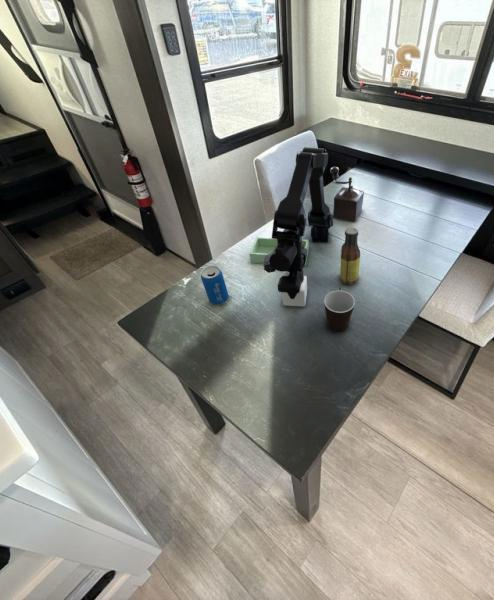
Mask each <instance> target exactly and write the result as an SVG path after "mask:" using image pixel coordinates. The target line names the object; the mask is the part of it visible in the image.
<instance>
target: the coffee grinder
mask: <svg viewBox="0 0 494 600" xmlns="http://www.w3.org/2000/svg"><path fill="white" fill-rule="evenodd" d="M329 172H330V174H331V175H332V179H333V181H334V183H335V184H338V185H348V187H340V190H339V191H338V192H337V193H336V195H335V196H334V198H333V215H332V216H333V218H334V219H340V220H343V221H348V222H356V221H357V220H358V219H359V217H360V215H361V214H362V212H363V205H364V204H363V203H364V197H365V190H361V189H357V188H354V185H352V183H353V181H352V180H353V178H352V177H351V176H350V177H348V181H337V179H339V178H340V176H339V172H340V168H339V167H338V166H332V167H331V168H330V170H329Z"/></svg>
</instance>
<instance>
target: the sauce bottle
mask: <svg viewBox="0 0 494 600" xmlns="http://www.w3.org/2000/svg"><path fill="white" fill-rule="evenodd" d="M358 236H359V229H358V228H357V227H354V226H349V227H346V228H345V230H344V242H343V244H342V245H341V248H340V249H341V250H340V269H339V270H340V271H339V272H340V273H339V277H340V281H341V282H342V283H343V284H345V285H354V284H356V283H357V282H358V281H359V277H360V265H361V264H360V262H361V250H360V247H359V243H358Z"/></svg>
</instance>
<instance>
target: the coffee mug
mask: <svg viewBox="0 0 494 600" xmlns="http://www.w3.org/2000/svg"><path fill="white" fill-rule="evenodd" d="M341 288H342V287H340V286H339V287H338V290H333V291H330V292H328V293H326V295H325V296H324V299H323V304H324V311H325V312H324V313H325V318H326V324H327V325H326V326H327V328H328V329H329V330H330V331H332V332H334V333H342V332H345V331H347V329H348V327H349V324H350V321H351V318H352V315H353V311H354V308H355V305H356V299H355V297H354V296H353V295H352V294H351V293H350V292H348V291H345V290H341Z"/></svg>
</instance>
